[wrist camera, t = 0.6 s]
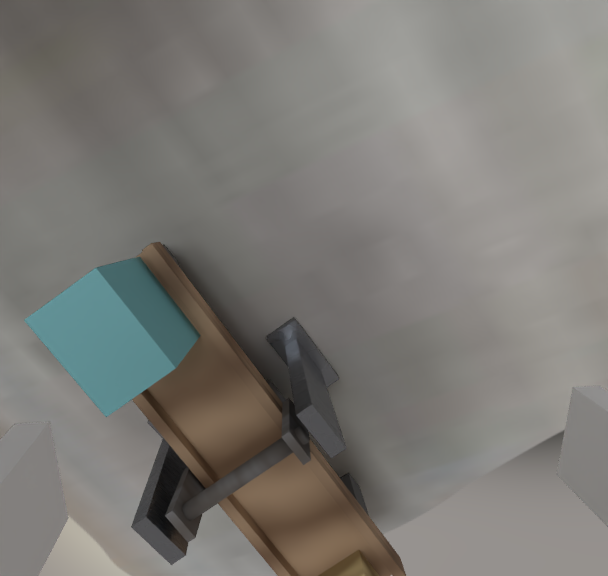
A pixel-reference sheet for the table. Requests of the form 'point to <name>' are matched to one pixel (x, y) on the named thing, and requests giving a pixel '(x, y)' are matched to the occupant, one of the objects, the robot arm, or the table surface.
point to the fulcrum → (309, 409)
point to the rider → (115, 332)
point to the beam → (253, 454)
